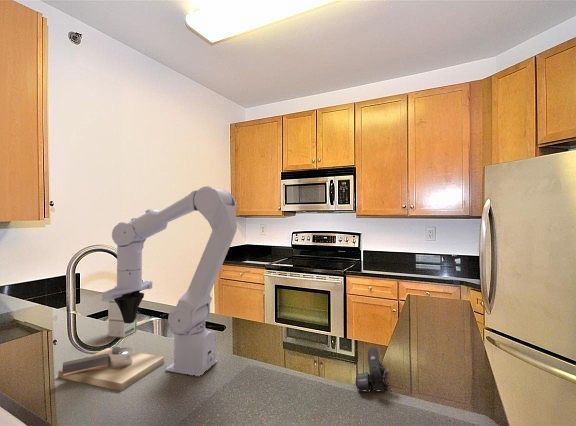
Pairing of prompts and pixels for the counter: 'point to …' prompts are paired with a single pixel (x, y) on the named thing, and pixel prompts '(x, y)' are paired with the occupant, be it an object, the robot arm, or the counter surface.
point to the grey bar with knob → (102, 360)
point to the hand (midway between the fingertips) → (128, 322)
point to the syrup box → (118, 322)
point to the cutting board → (115, 371)
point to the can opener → (373, 373)
